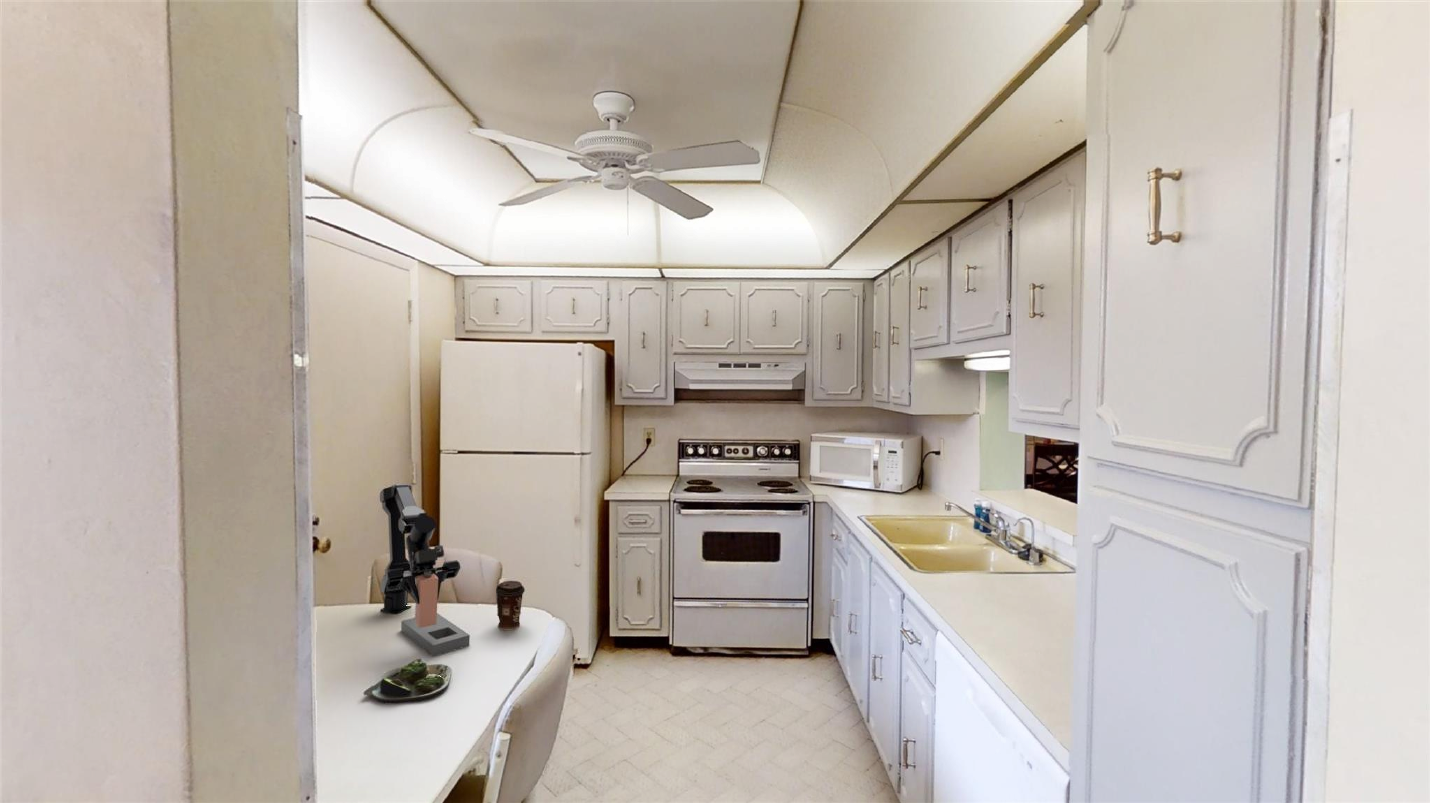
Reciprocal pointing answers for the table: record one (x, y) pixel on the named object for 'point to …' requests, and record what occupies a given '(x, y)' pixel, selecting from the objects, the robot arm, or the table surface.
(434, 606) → the pink capped bottle
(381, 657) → the table surface
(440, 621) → the grey slotted holder
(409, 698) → the salad plate
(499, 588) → the coffee cup
